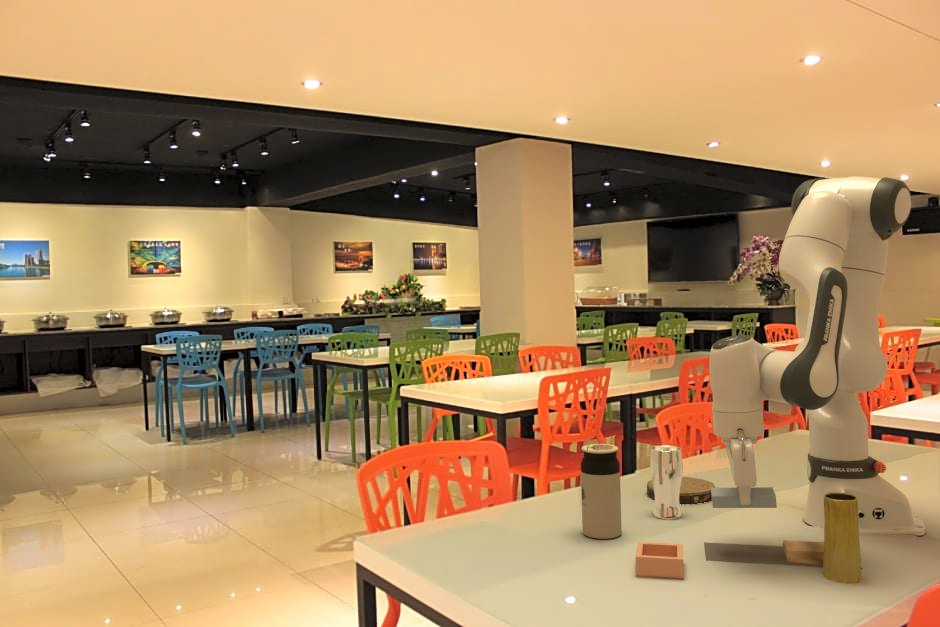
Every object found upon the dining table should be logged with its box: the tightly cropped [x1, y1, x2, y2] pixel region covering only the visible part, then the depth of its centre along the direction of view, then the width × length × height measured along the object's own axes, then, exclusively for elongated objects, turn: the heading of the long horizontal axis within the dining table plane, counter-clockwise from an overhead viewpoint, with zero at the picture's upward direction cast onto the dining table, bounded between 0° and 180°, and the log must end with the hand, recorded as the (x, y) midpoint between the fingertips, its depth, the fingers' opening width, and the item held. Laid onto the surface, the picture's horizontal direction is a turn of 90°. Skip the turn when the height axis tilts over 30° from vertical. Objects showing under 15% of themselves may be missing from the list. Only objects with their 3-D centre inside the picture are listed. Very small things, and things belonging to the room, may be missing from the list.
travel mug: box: [580, 443, 623, 540], centre depth 158 cm, size 8×8×18 cm
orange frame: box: [635, 541, 685, 580], centre depth 135 cm, size 8×8×4 cm
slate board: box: [711, 486, 778, 509], centre depth 142 cm, size 11×6×2 cm, turn 74°
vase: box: [822, 493, 863, 584], centre depth 130 cm, size 6×6×14 cm
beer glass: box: [649, 444, 684, 520], centre depth 169 cm, size 7×7×15 cm
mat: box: [703, 541, 863, 570], centre depth 141 cm, size 26×10×1 cm, turn 75°
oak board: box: [782, 540, 824, 564], centre depth 138 cm, size 11×6×2 cm, turn 75°
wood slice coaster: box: [646, 476, 716, 506], centre depth 185 cm, size 16×16×3 cm
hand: (743, 498), depth 142 cm, fingers closed on slate board, 5 cm apart
